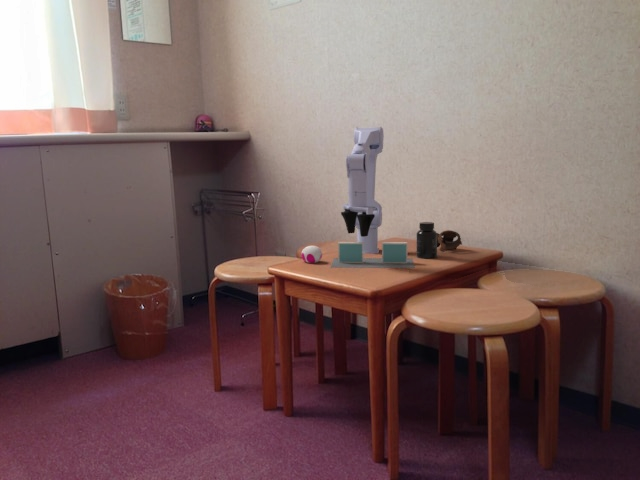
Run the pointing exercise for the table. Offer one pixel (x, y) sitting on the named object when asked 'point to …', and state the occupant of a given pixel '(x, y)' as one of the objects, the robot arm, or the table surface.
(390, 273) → the table surface
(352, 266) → the mat
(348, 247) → the tile
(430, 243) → the supplement bottle
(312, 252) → the stress ball
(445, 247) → the brown curved piece
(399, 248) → the tile
